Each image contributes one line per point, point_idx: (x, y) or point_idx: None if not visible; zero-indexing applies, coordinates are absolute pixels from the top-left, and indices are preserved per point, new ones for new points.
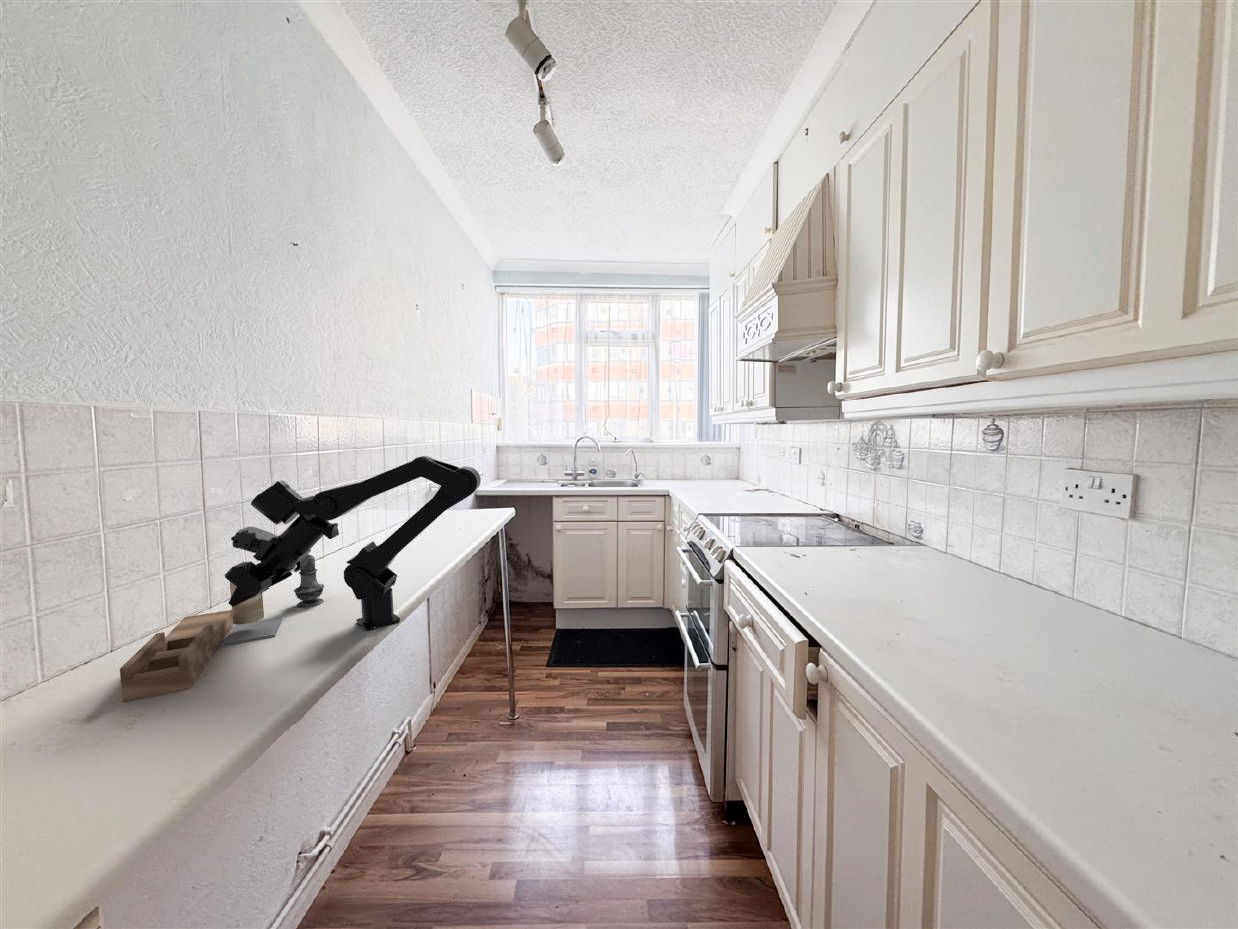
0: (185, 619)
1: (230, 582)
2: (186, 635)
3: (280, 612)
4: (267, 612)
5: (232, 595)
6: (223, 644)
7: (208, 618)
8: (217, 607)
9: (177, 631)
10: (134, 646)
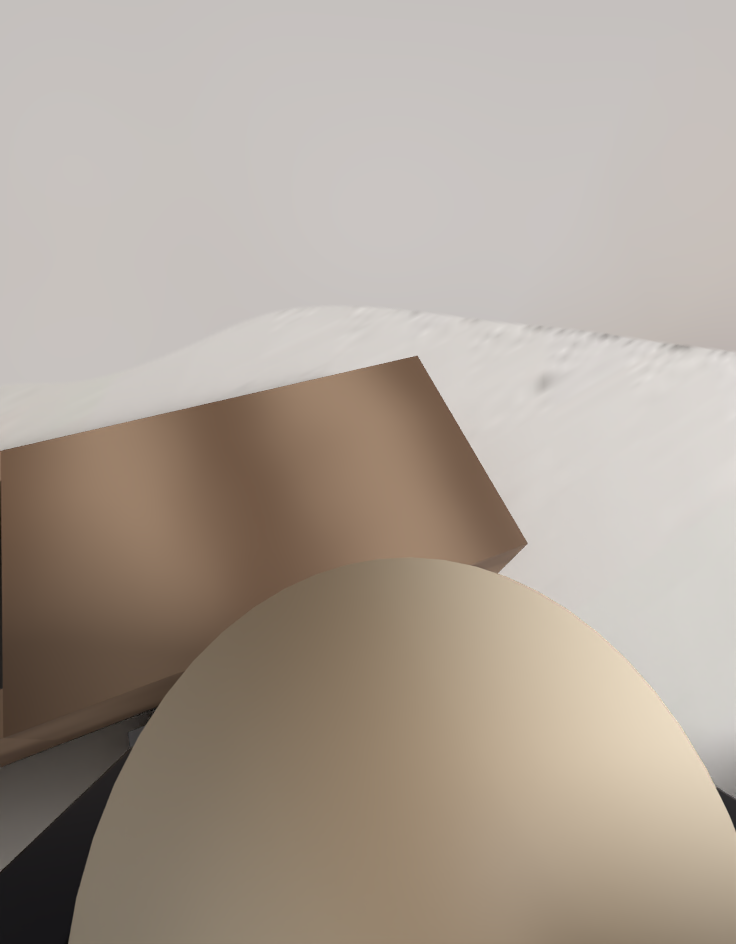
0: (377, 376)
1: (204, 651)
2: (64, 533)
3: (715, 779)
4: (693, 670)
5: (83, 797)
6: (133, 741)
7: (374, 484)
8: (692, 366)
9: (174, 440)
10: (278, 319)
